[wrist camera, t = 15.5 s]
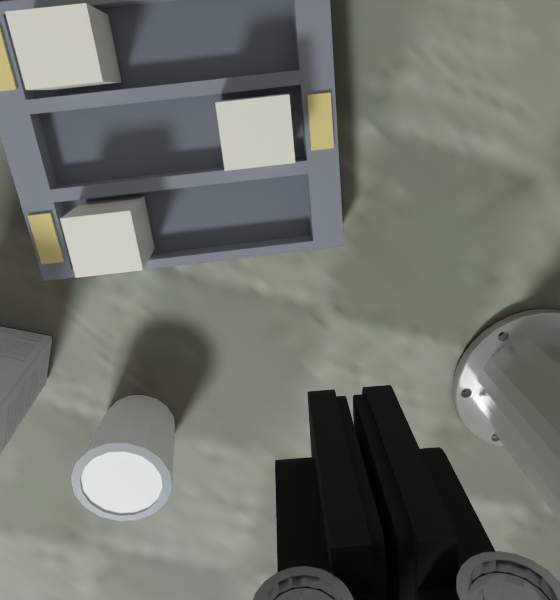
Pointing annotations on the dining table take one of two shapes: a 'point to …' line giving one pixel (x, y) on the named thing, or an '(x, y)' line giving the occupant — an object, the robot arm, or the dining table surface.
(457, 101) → the dining table surface
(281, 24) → the switch bank
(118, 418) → the grey cylinder
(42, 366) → the skincare box
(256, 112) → the tab middle
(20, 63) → the white cube
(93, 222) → the tab inner
